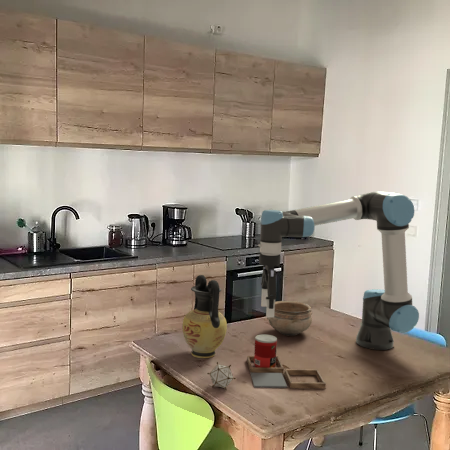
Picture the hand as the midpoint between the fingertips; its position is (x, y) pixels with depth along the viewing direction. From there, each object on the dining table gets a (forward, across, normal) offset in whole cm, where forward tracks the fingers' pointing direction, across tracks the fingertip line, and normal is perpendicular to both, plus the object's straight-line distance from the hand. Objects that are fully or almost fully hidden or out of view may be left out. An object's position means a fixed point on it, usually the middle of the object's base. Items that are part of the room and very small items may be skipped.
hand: (267, 311), depth 195 cm
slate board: (+21, +12, 0) cm, 24 cm away
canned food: (+21, 0, 0) cm, 21 cm away
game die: (+21, +18, -17) cm, 32 cm away
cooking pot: (+21, -38, +16) cm, 46 cm away
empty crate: (+21, +12, +12) cm, 27 cm away
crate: (+21, 0, 0) cm, 21 cm away
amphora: (+21, -12, -22) cm, 33 cm away
